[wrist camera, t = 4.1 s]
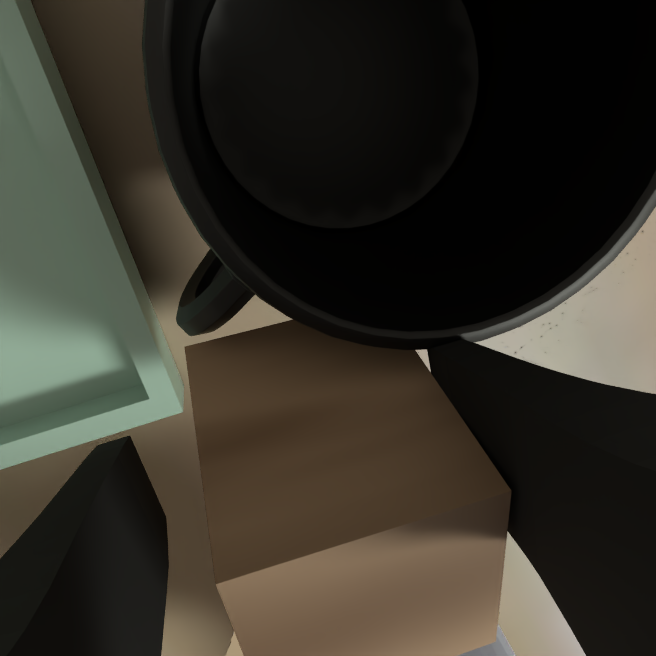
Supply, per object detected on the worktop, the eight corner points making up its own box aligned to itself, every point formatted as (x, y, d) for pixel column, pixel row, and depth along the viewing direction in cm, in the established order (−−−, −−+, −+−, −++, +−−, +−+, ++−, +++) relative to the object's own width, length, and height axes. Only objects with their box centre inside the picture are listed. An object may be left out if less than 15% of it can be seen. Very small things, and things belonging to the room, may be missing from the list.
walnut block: (389, 435, 17) (495, 641, 12) (227, 483, 16) (270, 722, 11) (379, 298, 14) (511, 490, 9) (184, 346, 13) (215, 584, 8)
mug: (56, 172, 17) (-94, 244, 9) (328, -193, 15) (463, -544, 7) (300, 353, 21) (358, 527, 12) (548, 75, 19) (816, 59, 10)
